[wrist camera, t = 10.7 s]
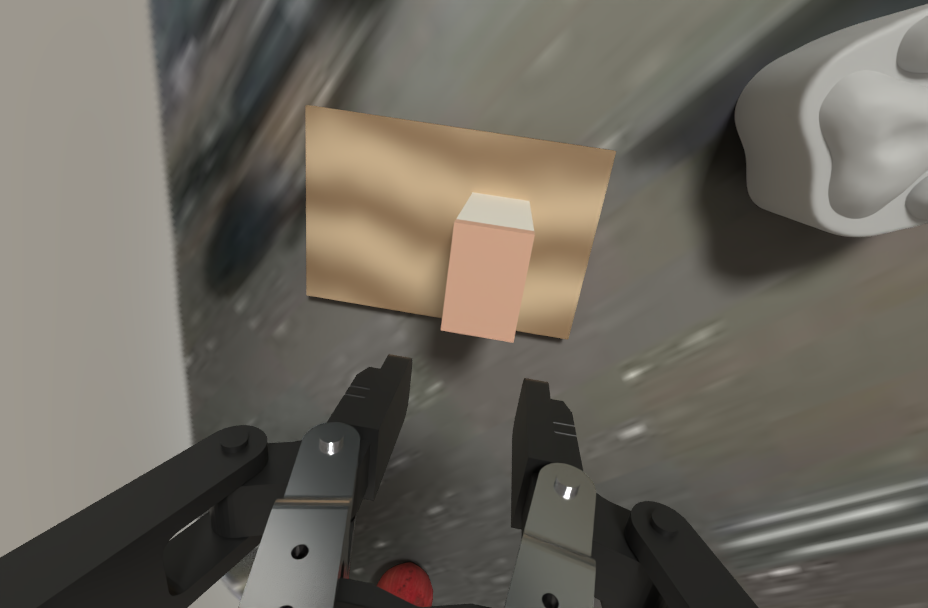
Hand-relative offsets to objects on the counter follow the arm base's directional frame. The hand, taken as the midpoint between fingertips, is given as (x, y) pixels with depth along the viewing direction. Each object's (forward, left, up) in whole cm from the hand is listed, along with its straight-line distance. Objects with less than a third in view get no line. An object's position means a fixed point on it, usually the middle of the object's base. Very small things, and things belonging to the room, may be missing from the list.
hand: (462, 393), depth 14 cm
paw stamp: (-11, +21, -21) cm, 32 cm away
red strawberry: (+37, -3, -21) cm, 43 cm away
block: (0, 0, -20) cm, 20 cm away
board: (0, -3, -21) cm, 21 cm away
